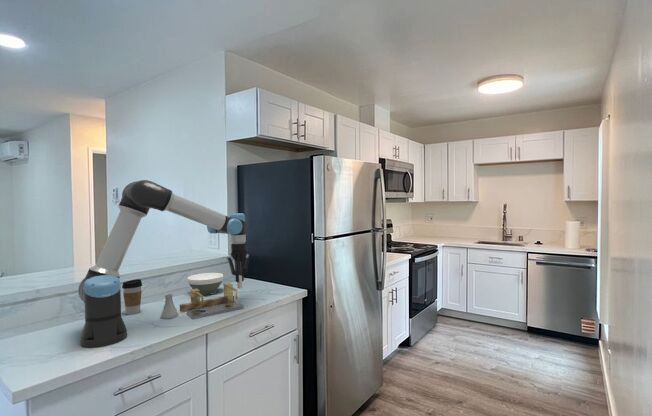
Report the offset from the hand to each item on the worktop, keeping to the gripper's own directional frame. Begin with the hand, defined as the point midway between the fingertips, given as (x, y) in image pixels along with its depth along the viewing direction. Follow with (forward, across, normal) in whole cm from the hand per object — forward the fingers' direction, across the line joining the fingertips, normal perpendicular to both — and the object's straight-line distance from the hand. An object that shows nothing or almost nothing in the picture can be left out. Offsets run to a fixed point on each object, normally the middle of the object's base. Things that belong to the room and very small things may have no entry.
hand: (239, 287), depth 185 cm
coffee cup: (+7, -48, +14) cm, 50 cm away
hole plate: (+6, -17, -11) cm, 21 cm away
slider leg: (+6, -6, -4) cm, 10 cm away
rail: (+6, -17, -4) cm, 18 cm away
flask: (+7, -36, -5) cm, 37 cm away
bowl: (+7, -9, +28) cm, 30 cm away
